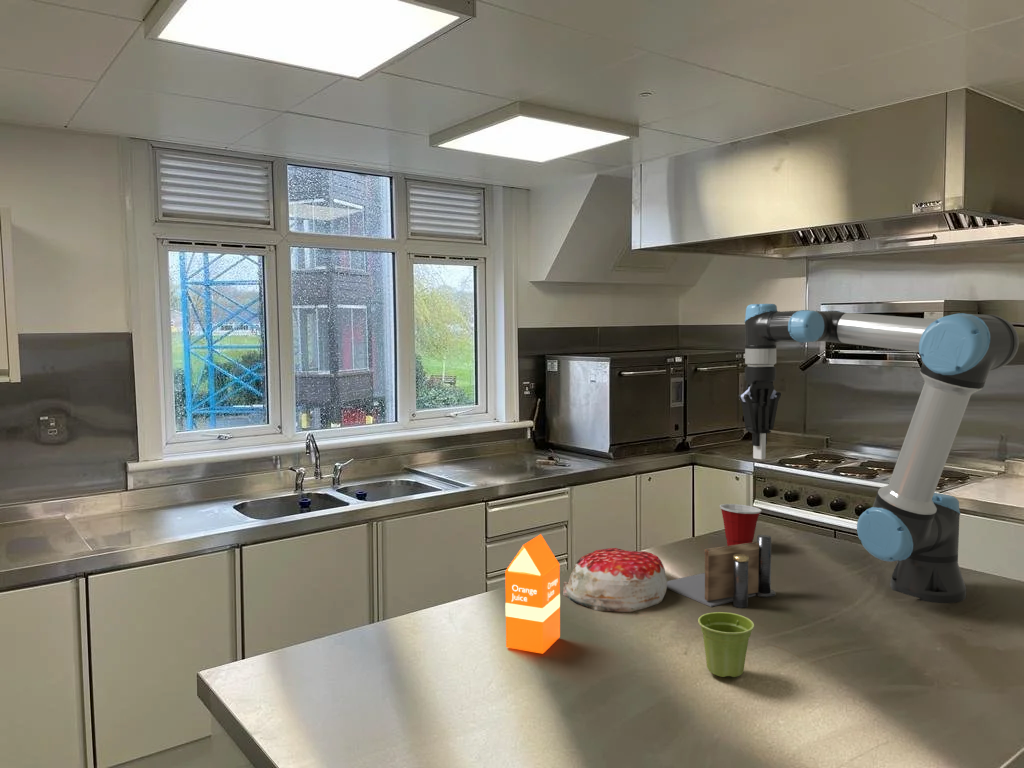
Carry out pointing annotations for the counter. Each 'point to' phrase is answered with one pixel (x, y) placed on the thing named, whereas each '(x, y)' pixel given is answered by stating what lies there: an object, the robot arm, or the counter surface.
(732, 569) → the gate
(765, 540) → the salt and pepper shakers
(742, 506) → the plastic cup
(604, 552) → the strawberry shortcake
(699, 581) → the rubber mat
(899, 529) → the robot arm
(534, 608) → the orange juice
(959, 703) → the counter surface
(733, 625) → the plant pot
